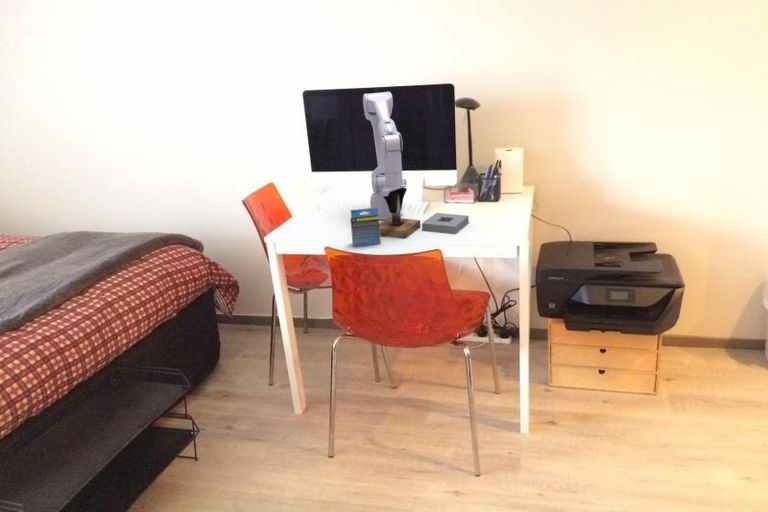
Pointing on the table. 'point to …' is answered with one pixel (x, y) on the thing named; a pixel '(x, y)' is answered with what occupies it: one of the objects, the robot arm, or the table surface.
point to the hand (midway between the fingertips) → (395, 211)
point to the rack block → (445, 223)
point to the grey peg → (396, 216)
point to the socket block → (398, 227)
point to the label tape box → (365, 227)
